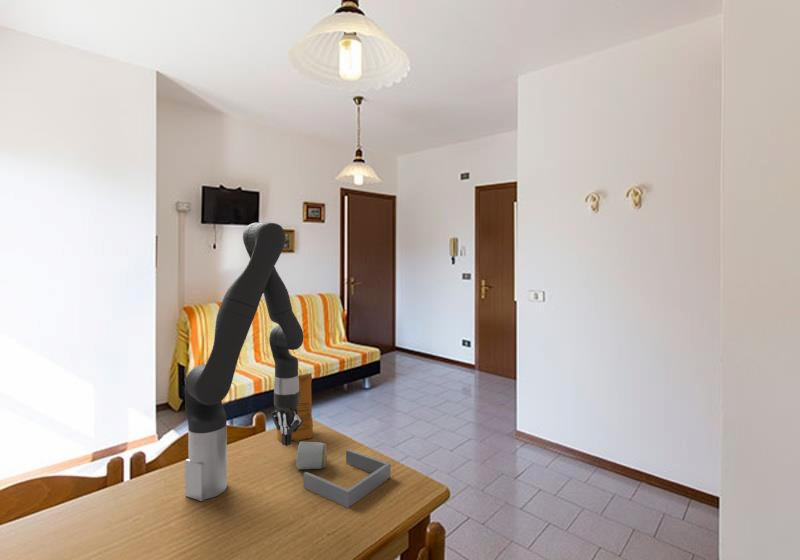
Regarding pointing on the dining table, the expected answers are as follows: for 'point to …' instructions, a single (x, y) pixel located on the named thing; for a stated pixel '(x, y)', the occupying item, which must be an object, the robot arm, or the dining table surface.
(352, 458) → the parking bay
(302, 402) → the coffee package
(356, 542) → the dining table surface
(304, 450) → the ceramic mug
